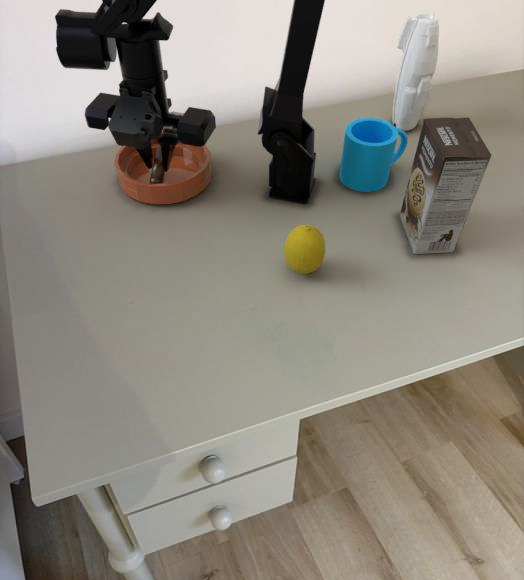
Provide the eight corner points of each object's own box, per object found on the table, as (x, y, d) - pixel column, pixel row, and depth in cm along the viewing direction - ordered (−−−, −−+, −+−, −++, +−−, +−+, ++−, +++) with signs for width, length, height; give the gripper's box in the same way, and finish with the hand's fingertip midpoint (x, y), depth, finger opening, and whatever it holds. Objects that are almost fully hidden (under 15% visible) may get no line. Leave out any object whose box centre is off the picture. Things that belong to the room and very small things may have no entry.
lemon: (326, 262, 76) (332, 218, 70) (316, 289, 73) (321, 245, 67) (290, 254, 77) (292, 209, 71) (278, 279, 74) (279, 235, 68)
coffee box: (397, 215, 83) (422, 116, 70) (437, 213, 83) (470, 114, 70) (412, 255, 77) (442, 156, 64) (455, 253, 77) (494, 154, 65)
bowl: (223, 160, 91) (222, 139, 88) (192, 214, 83) (190, 193, 79) (142, 146, 94) (138, 125, 91) (104, 197, 85) (98, 176, 82)
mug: (358, 197, 85) (366, 151, 79) (329, 171, 90) (335, 126, 83) (416, 176, 89) (428, 130, 82) (386, 151, 93) (395, 106, 87)
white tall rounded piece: (377, 119, 100) (399, 138, 96) (396, 12, 86) (423, 30, 82) (406, 111, 102) (429, 130, 97) (430, 6, 87) (457, 23, 83)
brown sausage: (158, 147, 87) (157, 139, 85) (170, 149, 87) (169, 141, 85) (149, 190, 84) (147, 182, 83) (161, 192, 85) (160, 185, 83)
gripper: (51, 87, 70) (82, 188, 82) (184, 109, 67) (195, 210, 79) (90, 50, 76) (113, 149, 89) (213, 69, 73) (219, 168, 86)
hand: (158, 168), depth 85 cm, fingers closed
